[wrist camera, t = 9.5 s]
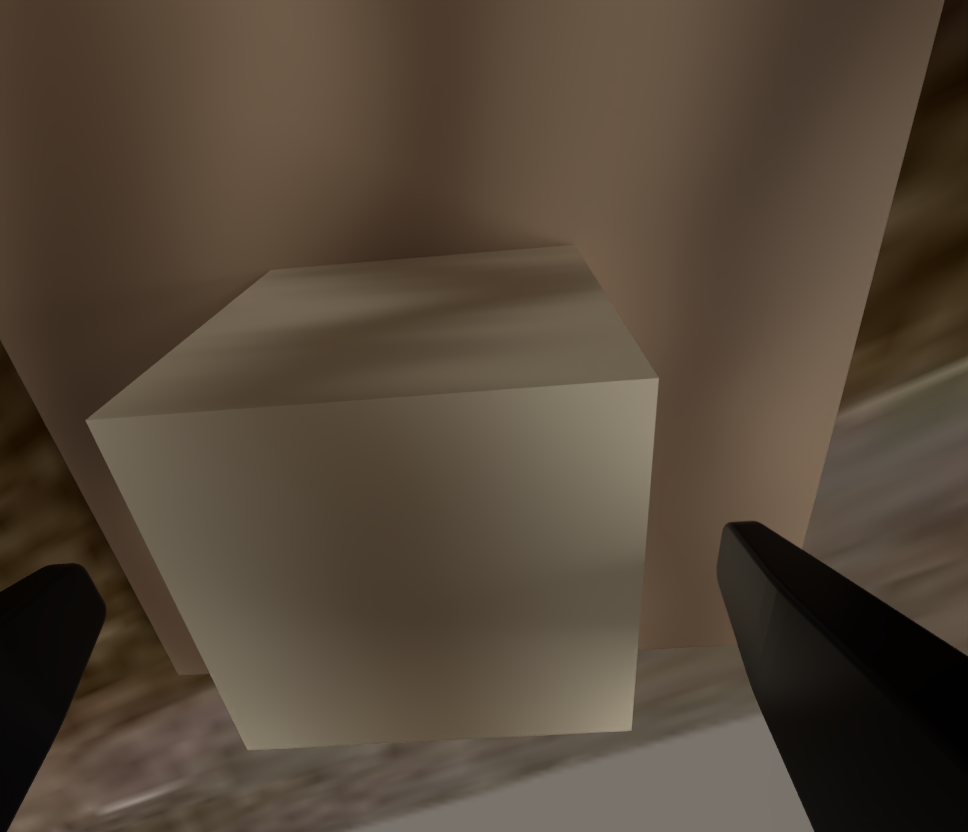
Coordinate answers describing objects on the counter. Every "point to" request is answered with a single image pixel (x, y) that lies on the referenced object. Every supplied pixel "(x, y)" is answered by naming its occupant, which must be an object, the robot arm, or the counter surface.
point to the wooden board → (469, 209)
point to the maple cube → (402, 498)
